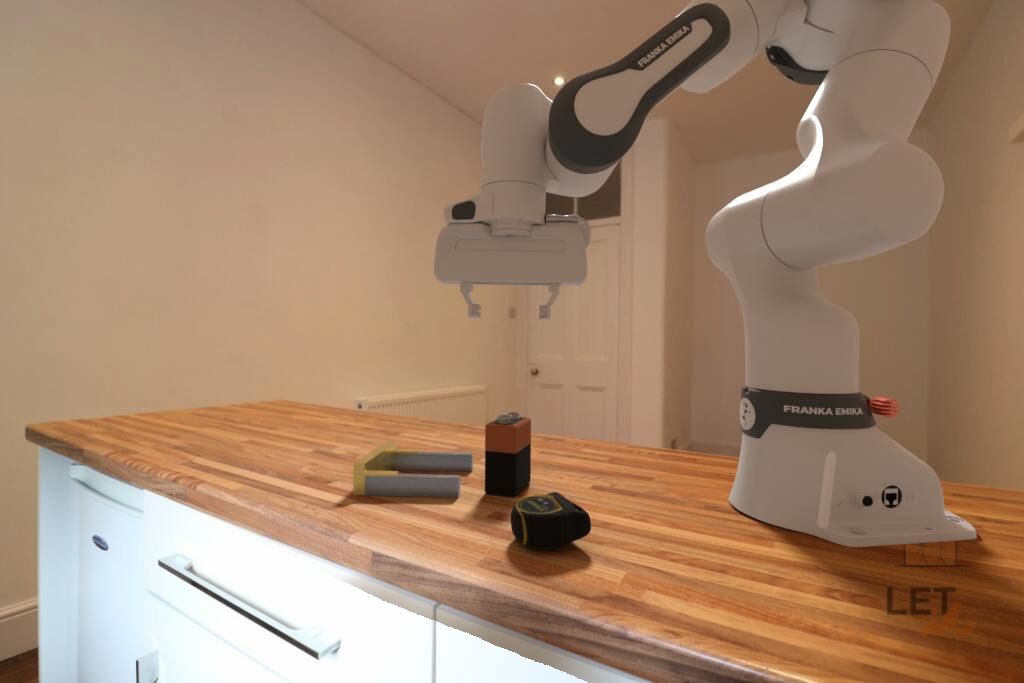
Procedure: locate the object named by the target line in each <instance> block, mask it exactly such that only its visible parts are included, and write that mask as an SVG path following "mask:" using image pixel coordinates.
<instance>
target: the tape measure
mask: <svg viewBox="0 0 1024 683" xmlns="http://www.w3.org/2000/svg"><path fill="white" fill-rule="evenodd" d="M591 522H592V521H591V516H590V514H589V512H587V511H586V510H585V509H584V508H583V507H581V506H580V505H579V504H576V503H575V502H573V501H571V500H570V499H568V498H566V497H565V496H564V495H562V494H561V493H560V492H556V491H552V492H549V493H547V494H535V495H530V496H526V497H523V498H521V499H519V500H518V501H516V502H515V503H514V504H513V506H512V510H511V512H510V527H511V532H512V534H513V536H514V538H515V540H516V541H517V542H518V543H520V544H521V545H523V546H525V547H527V548H529V549H536V550H552V549H553V550H554V549H559V548H563V547H564V546H567V545H569V544H571V543H573V542H576V541H579V540H581V539H583V538H585V537H586V536H588V535H589V534H590V533H591V530H592V523H591Z"/></svg>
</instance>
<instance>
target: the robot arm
mask: <svg viewBox="0 0 1024 683" xmlns="http://www.w3.org/2000/svg"><path fill="white" fill-rule="evenodd" d="M951 24H952V23H951V18H950V16H949V14H948V12H947V11H946V9H945V8H944V7H943V6H942V5H940V4H939V3H938V2H936V1H933V0H691V1H690V3H689V4H687V5H686V7H684V9H682V11H681V12H680V13H678V14H677V15H676V16H675V18H674V19H672V20H671V21H669V22H668V23H667V24H666V25H665V26H663V27H661V29H659V30H658V31H657V32H655V33H654V34H653V35H651V36H650V37H649V38H648V39H646V40H645V41H643V42H642V43H641V44H640V45H639V46H637V47H636V48H634V49H633V50H632V51H631V52H629V53H628V54H627V55H625V56H624V57H622V58H620V59H619V60H617V61H615V62H614V63H612V64H611V63H610V65H607V66H604V67H601V68H598V69H595V70H591V71H588V72H585V73H583V74H580V75H578V76H575V77H574V78H572V79H571V80H569V81H568V82H566V83H565V84H564V85H563V86H562V87H561V88H560V90H559V91H558V92H557V93H556V95H555V97H554V99H553V100H551V99H549V97H547V95H545V94H544V92H543V91H542V89H541V88H539V87H538V86H537V85H534V84H531V83H525V82H523V83H514V84H509V85H506V86H505V87H502V88H500V89H498V90H497V91H496V92H495V93H493V95H492V96H490V98H489V99H488V102H487V103H486V104H487V105H486V107H485V110H484V114H483V120H482V128H481V137H480V138H481V139H480V164H481V167H482V178H481V182H480V185H479V194H478V195H475V196H472V197H469V198H467V199H463V200H460V201H457V202H455V203H454V202H453V203H450V204H448V205H446V206H445V207H444V208H443V219H444V221H445V223H446V225H445V226H444V227H442V228H441V230H440V231H439V233H438V236H437V240H436V245H435V251H434V252H435V253H434V257H433V258H434V261H433V275H434V276H435V278H436V279H437V280H438V281H439V282H440V283H442V284H446V285H448V284H449V285H460V286H459V291H460V293H461V295H462V297H463V298H464V300H465V302H466V304H467V316H468V317H467V318H471V319H472V318H473V319H474V318H475V319H476V318H477V319H479V318H480V319H481V316H482V313H481V311H482V305H481V304H479V303H475V302H474V299H473V298H472V296H471V294H470V293H473V292H474V286H475V285H489V286H490V285H493V286H494V285H497V286H501V285H502V286H503V285H505V286H521V285H522V286H548V294H550V295H551V296H550V297H549V298H548V300H547V302H546V304H545V305H544V304H543V305H542V304H540V305H539V309H538V310H539V314H538V319H539V320H551V310H552V309H551V307H552V306H553V305H554V303H555V302H556V300H557V298H558V296H559V295H560V286H567V287H568V286H569V287H571V286H572V287H573V286H574V287H579V286H582V285H583V284H584V282H586V280H587V279H588V258H587V250H586V248H587V247H588V246H589V245H590V242H591V235H592V234H591V230H592V228H591V226H590V223H589V221H587V220H586V219H585V218H582V217H580V215H579V214H569V215H565V214H564V215H563V214H551V213H549V214H546V204H547V202H546V196H547V194H550V195H553V196H554V195H555V196H560V197H567V198H573V199H579V198H581V199H583V198H586V197H589V196H591V195H593V194H594V193H596V192H598V191H599V190H600V189H601V187H603V185H604V184H605V183H606V182H607V180H608V179H609V177H610V176H611V174H612V173H613V171H615V170H614V169H615V168H616V167H617V166H618V164H619V163H620V161H621V159H622V158H623V157H624V156H625V155H626V154H627V152H629V150H630V149H631V148H632V146H633V145H634V144H635V143H636V140H637V138H638V137H639V134H640V132H641V129H642V127H643V125H644V123H645V120H646V118H647V116H648V115H649V114H650V112H652V110H654V109H655V108H656V107H657V106H659V105H660V104H661V103H662V102H663V101H664V100H666V99H667V98H668V97H669V96H671V95H672V94H673V93H675V92H676V91H677V90H678V89H680V88H681V89H683V90H685V91H687V92H690V93H694V94H706V93H708V92H711V91H712V90H713V89H715V88H717V87H718V86H720V85H722V84H723V83H725V82H726V81H728V80H729V79H731V78H732V77H733V76H735V75H736V74H737V73H738V72H740V71H741V70H742V69H743V68H744V67H745V66H747V65H748V64H749V63H750V62H751V61H752V60H753V59H754V58H755V57H757V56H758V55H759V54H760V53H762V51H763V50H765V56H766V59H767V60H768V62H769V64H771V65H772V66H774V67H776V69H777V70H778V72H779V73H780V74H782V75H783V76H784V77H786V78H788V79H789V80H790V81H792V82H794V83H796V84H799V85H804V86H819V88H818V89H817V91H816V93H815V95H814V96H813V98H812V100H811V101H810V104H809V105H808V107H807V109H806V111H805V113H803V116H802V117H801V119H800V121H799V123H798V125H797V128H796V134H795V137H796V139H795V140H796V144H797V147H798V149H799V152H800V154H801V156H802V159H804V161H803V162H802V163H801V164H800V165H799V166H798V167H796V168H795V169H794V170H793V171H791V172H790V173H789V174H787V175H784V176H782V177H780V178H778V179H776V180H773V181H771V182H770V183H766V184H764V185H762V186H760V187H757V188H755V189H753V190H751V191H748V192H745V193H744V194H741V195H739V196H738V197H736V198H734V199H733V200H732V201H731V202H729V203H727V205H725V206H724V207H723V208H721V210H719V211H718V212H717V213H716V214H714V215H713V216H712V217H711V219H710V221H709V222H708V225H707V228H706V230H705V235H704V244H705V249H706V253H707V255H708V258H709V259H710V261H711V263H712V264H713V265H714V266H715V267H716V268H717V269H718V270H719V271H721V272H722V273H723V274H724V275H725V276H726V277H727V278H728V281H729V282H730V284H731V286H732V288H733V290H734V293H735V295H736V298H737V300H738V303H739V307H740V311H741V316H742V320H743V328H744V355H745V362H744V364H745V365H744V366H745V370H744V371H745V372H744V373H745V376H744V378H745V382H744V383H745V384H744V385H742V387H741V392H740V406H739V419H740V431H741V433H742V436H741V437H742V438H741V445H740V446H741V447H740V453H739V454H740V455H739V459H738V463H737V464H738V465H737V470H736V473H735V478H734V481H733V485H732V487H731V491H730V492H729V496H728V501H729V503H730V504H731V505H732V506H733V507H734V508H736V510H738V511H740V512H741V513H743V514H746V515H747V516H749V517H752V518H754V519H756V520H759V521H761V522H764V523H767V524H770V525H773V526H776V527H780V528H782V529H783V528H784V529H787V530H791V531H796V532H799V533H804V534H808V535H811V536H815V537H818V538H820V539H824V540H825V541H829V542H831V543H835V544H838V545H841V546H845V547H849V548H863V547H864V548H866V547H877V546H879V547H881V546H893V545H909V544H910V545H911V544H922V543H923V544H926V543H940V542H954V541H955V542H956V541H969V540H976V539H978V536H977V530H976V529H975V527H974V525H972V524H971V523H970V522H969V521H967V520H966V519H964V518H962V517H960V516H958V515H957V514H954V513H953V512H951V511H949V510H947V509H946V508H945V500H944V492H943V488H942V484H941V481H940V479H939V477H938V475H937V473H936V471H935V470H934V469H933V468H932V467H931V466H929V464H927V463H926V462H925V461H923V460H922V459H920V458H919V457H917V456H916V455H915V454H914V453H912V452H911V451H909V450H908V449H906V448H905V447H903V446H902V445H901V444H900V443H898V442H897V441H895V440H894V439H892V438H891V437H890V436H889V435H887V434H886V433H885V432H883V431H882V430H881V429H879V428H878V427H877V422H876V419H875V417H874V415H876V416H882V417H885V418H887V419H893V418H896V417H898V414H901V411H900V410H901V409H902V407H900V406H901V403H897V402H899V401H898V400H897V399H894V398H885V397H882V396H876V397H873V398H870V397H868V396H867V395H866V394H864V393H862V392H861V391H860V333H861V332H860V327H859V324H858V321H857V320H856V318H855V317H854V315H853V314H851V313H850V312H849V311H848V310H846V309H845V308H843V307H842V306H839V305H838V304H835V303H834V302H832V301H830V300H829V299H828V298H827V296H826V295H825V293H824V291H823V289H822V287H821V283H820V282H819V276H818V268H819V267H825V266H830V265H835V264H836V265H837V264H842V263H848V262H854V261H859V260H860V261H861V260H865V259H869V258H871V257H874V256H877V255H880V254H882V253H885V252H887V251H891V250H894V249H896V248H898V247H901V246H903V245H906V244H909V243H912V242H914V241H917V239H919V238H922V236H924V235H925V234H926V233H928V231H929V230H930V228H931V227H932V225H934V223H935V222H936V219H937V218H938V215H939V212H940V211H941V208H942V205H943V203H944V196H945V195H944V194H945V183H944V179H943V178H944V177H943V174H942V172H941V169H940V168H939V166H938V165H937V163H936V162H935V160H934V159H933V158H932V156H931V155H929V154H928V153H927V152H926V151H924V150H923V149H922V148H920V147H919V146H917V145H915V144H913V143H910V142H908V141H909V140H908V139H909V137H910V136H911V133H912V130H913V128H914V127H915V125H916V123H917V121H918V118H919V117H920V114H921V112H922V111H923V108H924V107H925V104H926V102H927V101H928V99H929V96H930V94H931V92H932V90H933V88H934V86H935V84H936V82H937V79H938V78H939V75H940V72H941V70H942V67H943V64H944V62H945V58H946V55H947V54H946V53H947V51H948V48H949V41H950V37H951V30H952V27H951ZM769 47H770V48H769Z"/></svg>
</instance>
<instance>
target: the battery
mask: <svg viewBox="0 0 1024 683" xmlns="http://www.w3.org/2000/svg"><path fill="white" fill-rule="evenodd" d="M496 417H497V419H495V420H492V421H490V422H488V423H486V424H485V427H484V428H485V430H484V433H485V436H484V441H485V442H484V493H485V494H487V495H492V496H501V497H509V498H515V497H516V496H517V495H519V493H521V491H523V489H524V488H525V487H526V486H527V485H528V484H530V482H531V474H532V473H531V469H532V468H531V465H532V464H531V463H532V462H531V460H532V459H531V455H532V450H531V449H532V447H531V446H532V438H531V437H532V420H531V418H530V417H525V416H524V417H523V416H520V413H519V412H518V411H512V412H511V411H509V412H507V414H498V415H496Z"/></svg>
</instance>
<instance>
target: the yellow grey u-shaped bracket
mask: <svg viewBox="0 0 1024 683" xmlns="http://www.w3.org/2000/svg"><path fill="white" fill-rule="evenodd" d="M401 470H402V471H403V470H404V471H405V470H406V471H434V472H435V471H437V472H438V471H442V472H443V471H445V472H473V470H474V452H451V451H422V449H414V448H413V449H407V448H406V449H403V448H397V441H394V440H393V441H392V440H390V441H389V440H386V441H384V442H383V443H382V444H379V446H377V447H376V448H374V449H373V450H371V451H370V452H368V453H367V454H365V455H364V456H362V457H361V458H359V459H357V461H355V462H353V470H352V471H353V472H352V474H353V478H352V479H353V481H352V482H353V484H352V486H353V487H352V491H353V492H352V494H353V496H376V497H377V496H378V497H379V496H381V497H407V498H409V497H411V498H412V497H416V498H443V499H444V498H447V499H448V498H449V499H459V497H460V496H461V475H460V474H433V473H431V474H430V473H429V474H425V473H423V474H422V473H400V472H399V471H401Z"/></svg>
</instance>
